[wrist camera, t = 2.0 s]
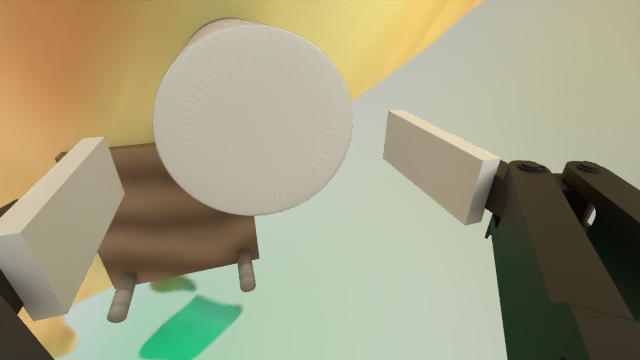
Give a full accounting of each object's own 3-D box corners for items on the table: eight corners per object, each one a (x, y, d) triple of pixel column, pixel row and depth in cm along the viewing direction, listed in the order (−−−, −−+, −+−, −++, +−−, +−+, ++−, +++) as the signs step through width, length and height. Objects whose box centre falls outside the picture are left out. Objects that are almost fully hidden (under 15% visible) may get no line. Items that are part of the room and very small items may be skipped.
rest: (61, 152, 31) (22, 188, 24) (243, 134, 35) (250, 160, 29) (118, 280, 39) (100, 330, 33) (257, 251, 44) (265, 291, 38)
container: (246, 134, 36) (279, 242, 19) (163, 78, 30) (107, 160, 14) (300, 64, 34) (388, 115, 17) (221, -7, 28) (237, -35, 12)
